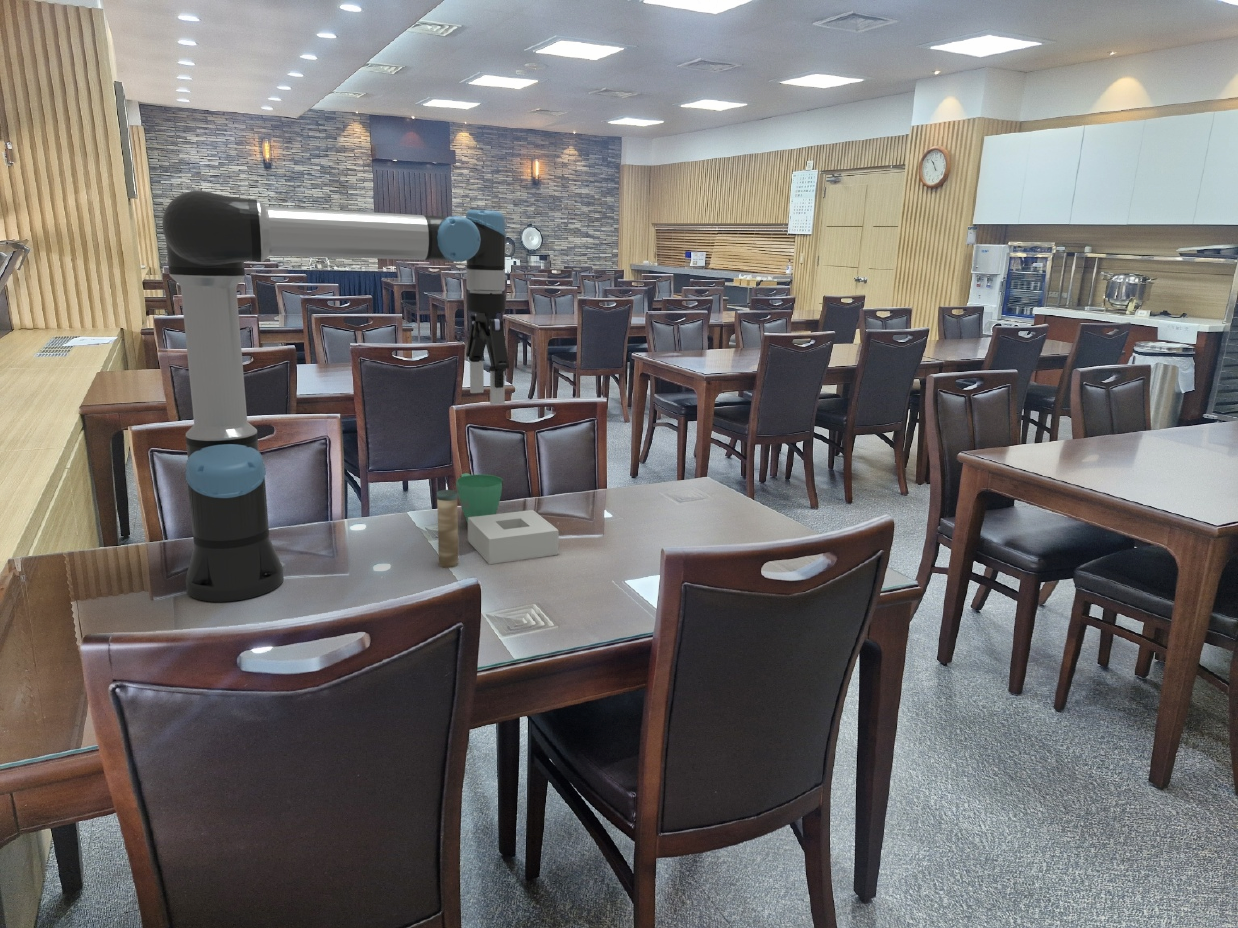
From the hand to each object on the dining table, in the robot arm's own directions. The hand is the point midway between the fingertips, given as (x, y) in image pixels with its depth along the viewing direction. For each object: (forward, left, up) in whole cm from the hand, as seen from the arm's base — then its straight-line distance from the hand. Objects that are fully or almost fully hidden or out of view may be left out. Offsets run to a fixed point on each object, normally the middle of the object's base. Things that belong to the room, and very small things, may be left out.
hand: (486, 398), depth 166 cm
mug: (-1, +5, -28) cm, 29 cm away
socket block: (+1, -13, -28) cm, 31 cm away
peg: (-13, -17, -28) cm, 35 cm away
